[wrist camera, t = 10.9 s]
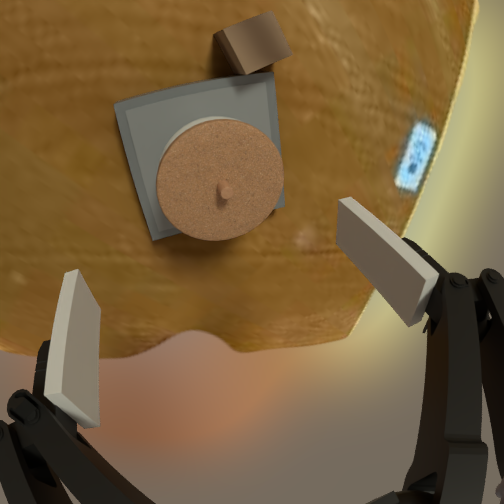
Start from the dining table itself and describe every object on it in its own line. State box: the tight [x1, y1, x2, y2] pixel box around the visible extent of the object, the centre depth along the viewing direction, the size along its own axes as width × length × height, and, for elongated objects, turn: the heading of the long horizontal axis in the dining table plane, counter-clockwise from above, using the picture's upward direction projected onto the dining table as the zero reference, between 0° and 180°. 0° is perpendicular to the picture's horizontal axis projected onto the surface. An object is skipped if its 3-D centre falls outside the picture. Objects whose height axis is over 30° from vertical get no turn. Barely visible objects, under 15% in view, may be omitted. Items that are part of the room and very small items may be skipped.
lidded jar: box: [156, 116, 284, 241], centre depth 27 cm, size 11×11×9 cm
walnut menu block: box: [213, 11, 293, 75], centre depth 25 cm, size 5×5×5 cm
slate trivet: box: [114, 71, 285, 241], centre depth 32 cm, size 16×16×3 cm
